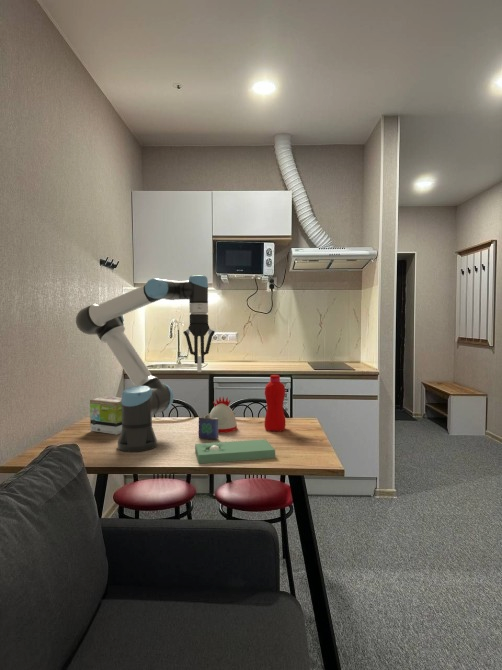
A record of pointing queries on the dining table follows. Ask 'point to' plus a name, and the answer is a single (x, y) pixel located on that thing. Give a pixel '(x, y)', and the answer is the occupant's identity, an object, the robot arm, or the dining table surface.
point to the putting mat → (234, 451)
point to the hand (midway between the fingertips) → (199, 371)
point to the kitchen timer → (224, 416)
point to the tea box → (106, 415)
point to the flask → (208, 428)
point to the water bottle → (275, 404)
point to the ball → (214, 448)
